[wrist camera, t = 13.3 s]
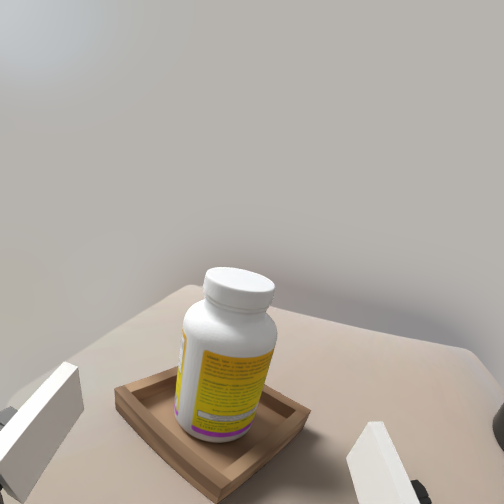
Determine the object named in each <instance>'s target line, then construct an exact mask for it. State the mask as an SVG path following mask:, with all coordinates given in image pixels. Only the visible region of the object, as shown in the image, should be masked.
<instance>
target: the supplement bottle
mask: <svg viewBox="0 0 504 504" xmlns="http://www.w3.org/2000/svg"><path fill="white" fill-rule="evenodd" d="M203 290H204V295H205V299H204V300H202V301H199V302H197V303H195V304H194V305H193V306H191V307H190V308H189V310H188V311H187V313H186V315H185V318H184V323H183V330H182V339H181V348H180V356H179V365H178V373H177V382H176V393H175V404H174V412H175V417H176V419H177V421H178V423H179V425H180V426H181V427H182V428H183V429H184V430H185V431H186V432H187V433H189V434H190V435H192V436H194V437H196V438H198V439H200V440H203V441H207V442H213V443H223V442H230V441H234V440H236V439H238V438H240V437H242V436H243V435H244V434H246V433H247V431H248V430H249V429H250V427H251V425H252V422H253V419H254V416H255V413H256V409H257V406H258V403H259V399H260V396H261V393H262V389H263V386H264V383H265V379H266V376H267V372H268V369H269V365H270V362H271V359H272V355H273V351H274V348H275V344H276V341H277V328H276V325H275V323H274V321H273V320H272V318H271V317H270V316H269V315H268V314H267V313H266V310H267V309H268V308H269V305H271V303H272V300H273V296H274V291H275V285H274V283H273V282H272V281H271V280H269V279H268V278H266V277H264V276H262V275H259V274H256V273H254V272H250V271H246V270H242V269H237V268H228V267H216V268H212V269H209V270H208V271H207V273H206V276H205V281H204V285H203Z"/></svg>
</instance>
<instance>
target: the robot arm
mask: <svg viewBox="0 0 504 504" xmlns="http://www.w3.org/2000/svg"><path fill="white" fill-rule="evenodd" d="M83 410H84V405H83V399H82V393H81V386H80V379H79V371H78V367H77V366H74V365H72V364H70V363H67V362H65V361H64V362H63V363H62V364H61V365H60V366H59V367H58V368H57V369H56V371H55V372H54V373H53V374H52V375H51V376H50V377H49V378H48V379H47V380H46V381H45V382H44V383H43V384H42V385H41V386H40V387H39V389H38V390H37V391H36V392H35V393H34V394H33V395H32V396H31V397H30V398H29V399H28V401H27V402H26V403H25V404H24V405H23V406H22V407H21V408H20V409H19V411H18V410H16V409H14V408H13V407H11V406H10V407H8V408H6V409H4V410H2V411H1V412H0V491H1V490H2V488H4V490H5V491H6V492H7V494H8V495H10V496H11V497H13V498H14V499H16V500H17V501H19V502H20V503H22V504H24V502H25V501H26V499H27V497H28V496H29V494H30V492H31V491H32V489H33V487H34V486H35V484H36V483H37V481H38V479H39V478H40V476H41V474H42V473H43V471H44V470H45V468H46V467H47V465H48V463H49V462H50V460H51V459H52V457H53V456H54V454H55V452H56V451H57V449H58V448H59V446H60V445H61V443H62V442H63V440H64V439H65V437H66V436H67V434H68V433H69V431H70V430H71V428H72V427H73V425H74V424H75V422H76V421H77V419H78V418H79V416H80V415H81V413H82V412H83ZM493 430H494V434H495V437H496V439H497V441H498V443H499V444H500V446H501V447H502V449H503V450H504V403H503V404H502V406H501V407H500V409H499V411H498V412H497V414H496V415H495V417H494V419H493ZM346 460H347V463H348V466H349V470H350V473H351V477H352V480H353V484H354V487H355V491H356V494H357V498H358V502H359V504H431V503H432V502H431V500H430V498H429V497H428V496H429V495H428V493H427V491H426V489H425V487H424V486H423V485H422V484H421V483H420V482H419V481H418V480H413V481H410V480H409V478H408V475H407V473H406V471H405V469H404V467H403V464H402V462H401V460H400V458H399V456H398V453H397V451H396V449H395V447H394V445H393V443H392V441H391V438H390V436H389V434H388V432H387V430H386V428H385V426H384V424H383V422H382V421H380V422H368V423H367V425H366V427H365V428H364V430H363V432H362V433H361V435H360V437H359V438H358V440H357V442H356V443H355V445H354V446H353V448H352V449H351V451H350V453H349V454H348V456H347V457H346ZM0 504H4V502H3V498H2V495H1V492H0Z"/></svg>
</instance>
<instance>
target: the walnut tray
mask: <svg viewBox="0 0 504 504" xmlns="http://www.w3.org/2000/svg"><path fill="white" fill-rule="evenodd" d="M177 373H178V366H177V367H174V368H172V369H169V370H166V371H163V372H161V373H158V374H155V375H152V376H150V377H147V378H144V379H141V380H138V381H135V382H132V383H129V384H126V385H123V386H120V387H117V388H114V390H115V405H116V410H117V411H118V412H119V413H120V414H121V415H122V417H123V418H124V419H125V420H126V421H127V422H128V423H129V425H130V426H131V427H132V428H133V429H134V430H135V431H136V432H137V433H138V434H139V435H140V436H141V438H142V439H143V440H144V441H145V442H146V443H147V444H148V445H149V446H150V447H151V448H152V449H153V450H154V451H155V452H156V453H157V454H158V455H159V456H160V457H161V458H162V459H163V460H165V461H166V462H167V463H168V464H169V465H170V466H171V467H172V468H173V469H174V470H175V471H176V472H178V473H179V474H180V475H181V476H182V477H183V478H184V479H186V480H187V481H188V482H189V483H190V484H191V485H193V486H194V487H195V488H196V489H197V490H199V491H200V492H201V493H202V494H204V495H205V496H206V497H207V498H209V499H210V500H211V501H213V502H214V503H215V504H217V503H219V502H220V501H221V500H223V499H224V498H225V497H227V496H228V495H229V494H231V493H232V492H233V491H234V490H236V489H237V488H238V487H239V486H241V485H242V484H243V483H244V482H245V481H247V480H248V479H249V478H250V477H251V476H253V475H254V474H255V473H256V472H257V471H258V470H260V469H261V468H262V467H263V466H264V465H265V464H266V463H267V462H269V461H270V460H271V459H272V458H273V457H274V456H275V455H276V454H277V453H278V452H279V451H280V450H281V449H283V448H284V447H285V446H286V445H287V444H288V443H289V442H290V441H291V440H292V439H293V438H294V437H295V436H296V435H297V434H298V433H299V432H300V431H301V430H302V429H303V427H304V425H305V423H306V421H307V418H308V416H309V414H310V412H311V410H310V409H308V408H306V407H304V406H302V405H300V404H298V403H297V402H295V401H293V400H291V399H289V398H288V397H286V396H284V395H282V394H280V393H279V392H277V391H275V390H273V389H272V388H270V387H268V386H267V385H265V384H264V386H263V389H262V393H261V396H260V399H259V403H258V406H257V409H256V413H255V416H254V419H253V422H252V425H251V427H250V429H249V430H248V431H247V433H246V434H244V435H243V436H242V437H240V438H238V439H236V440H234V441H230V442H223V443H213V442H207V441H203V440H200V439H198V438H196V437H194V436H192V435H190V434H189V433H187V432H186V431H185V430H184V429H183V428H182V427H181V426H180V425H179V423H178V421H177V419H176V417H175V412H174V404H175V393H176V382H177Z"/></svg>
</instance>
